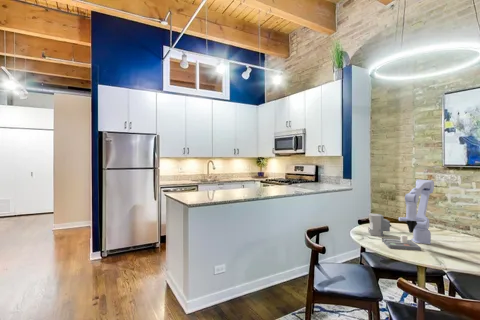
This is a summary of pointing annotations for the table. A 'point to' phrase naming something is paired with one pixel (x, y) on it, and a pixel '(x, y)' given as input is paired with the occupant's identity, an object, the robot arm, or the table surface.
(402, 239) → the handle
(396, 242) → the panel
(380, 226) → the circuit breaker
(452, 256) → the table surface
